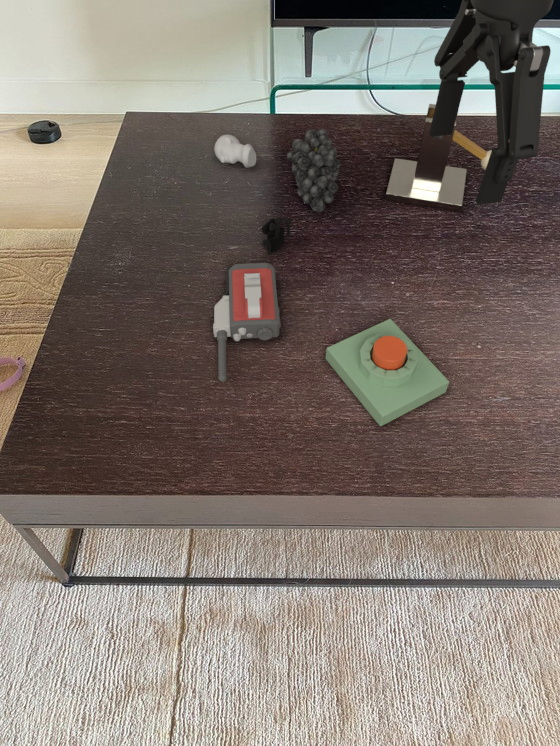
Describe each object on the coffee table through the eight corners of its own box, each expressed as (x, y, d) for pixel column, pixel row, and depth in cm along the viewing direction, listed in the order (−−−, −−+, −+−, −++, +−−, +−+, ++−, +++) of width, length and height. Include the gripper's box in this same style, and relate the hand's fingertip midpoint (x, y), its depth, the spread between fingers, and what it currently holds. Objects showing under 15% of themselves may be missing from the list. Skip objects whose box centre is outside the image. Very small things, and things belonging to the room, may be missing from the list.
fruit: (334, 173, 89) (331, 114, 98) (279, 187, 91) (281, 128, 100) (348, 218, 95) (344, 159, 104) (297, 231, 98) (297, 172, 107)
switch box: (445, 392, 77) (453, 372, 74) (380, 426, 74) (384, 408, 70) (387, 329, 83) (392, 308, 80) (325, 358, 80) (327, 338, 77)
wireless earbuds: (266, 263, 91) (265, 236, 87) (252, 256, 92) (251, 229, 88) (293, 237, 94) (294, 210, 90) (279, 231, 95) (280, 204, 91)
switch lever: (493, 167, 98) (507, 153, 96) (491, 179, 96) (507, 165, 94) (426, 122, 95) (440, 106, 93) (424, 133, 93) (438, 117, 91)
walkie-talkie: (214, 275, 89) (214, 387, 77) (211, 252, 86) (211, 366, 73) (275, 272, 89) (285, 384, 77) (275, 249, 86) (285, 362, 74)
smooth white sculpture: (211, 162, 108) (231, 143, 109) (242, 181, 104) (263, 161, 105) (203, 144, 104) (224, 124, 105) (235, 163, 100) (256, 142, 101)
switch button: (411, 362, 75) (414, 352, 74) (384, 375, 74) (386, 366, 72) (391, 340, 77) (393, 330, 76) (365, 352, 76) (367, 343, 74)
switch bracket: (465, 175, 104) (485, 102, 94) (460, 211, 98) (481, 138, 88) (393, 164, 106) (406, 91, 96) (385, 199, 100) (397, 126, 90)
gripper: (430, -85, 63) (396, 113, 79) (553, 26, 48) (478, 239, 65) (498, -89, 64) (450, 106, 81) (638, 17, 49) (543, 229, 66)
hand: (462, 166), depth 73 cm, fingers open, 13 cm apart
